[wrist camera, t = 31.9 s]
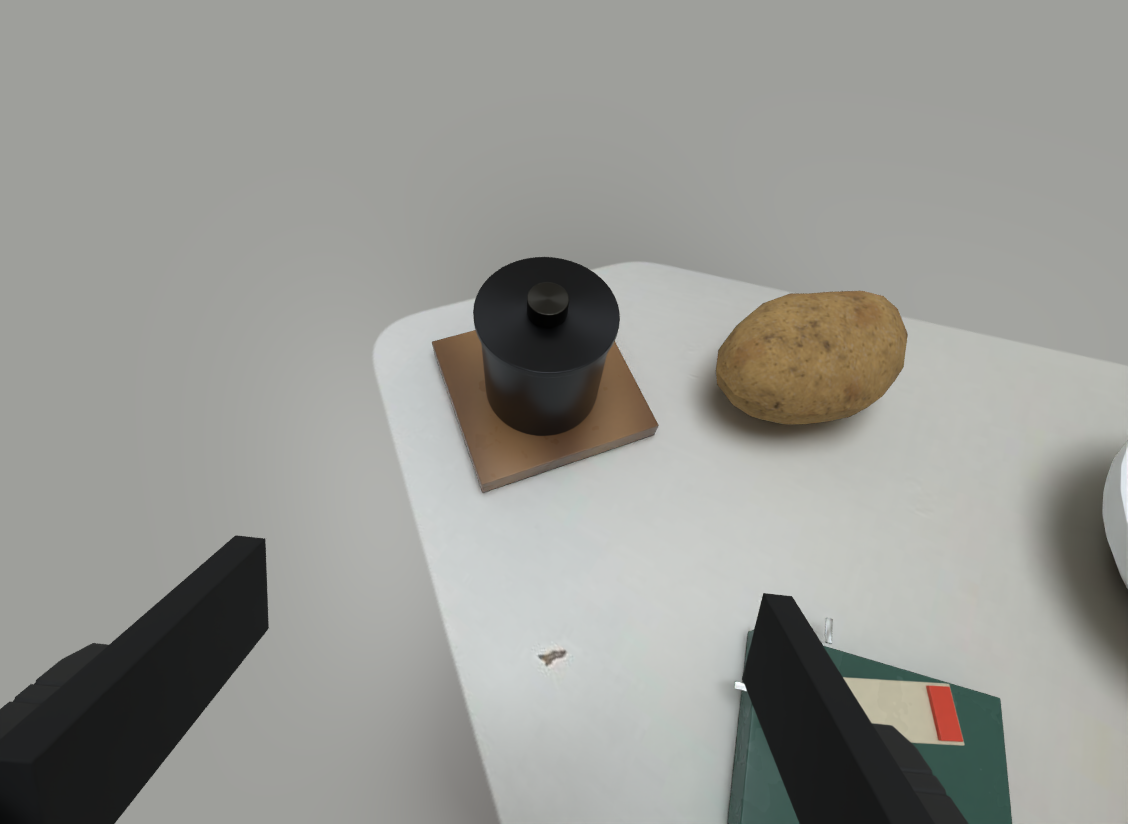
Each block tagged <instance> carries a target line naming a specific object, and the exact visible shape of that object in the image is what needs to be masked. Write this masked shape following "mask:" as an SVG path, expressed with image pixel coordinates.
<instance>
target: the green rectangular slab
mask: <svg viewBox="0 0 1128 824" xmlns="http://www.w3.org/2000/svg"><path fill="white" fill-rule="evenodd" d="M832 623H833V619H830V618H826V621H825V642H826V643H829V644H832ZM753 633H754V630H752V631H749V632H748V638H747V647H746V657H745V665H746V661H747V657H748V653H749V649H750V645H751V641H752V637H753ZM824 648H825V650H826V651H827V653H828V654H829V656H830V658H831V659H832V661H833V662H834V664H835V666H836V667H837V669H838V670H839V672H840V673H841V675H842V677H846V678H863V679H880V680H896V681H913V682H930V683H946V684H949V685H950V689H951V693H952V697H953V701H954V705H955V709H956V713H957V717H958V721H959V725H960V729H961V733H962V737H963V741H964V746H959V745H941V744H923V743H912V744H913V745H914V746H915V747H916V748H917V749H918V751H919V752H920V754H921V755H922V757H923V758H924V760H925V761H926V762H927V764H928V765H929V767H930V768H931V770H932V774H933V776H936V777H937V778H938V780H939V781H940V783H941V784H942V786H943V787H944V789H945V790H946V795H947V796H950V797H951V799H952V800H953V802H954V803H955V805H956V806H957V808H958V809H959V810H960V812H961V813H962V815H963V816H964V818H965V819H966V821H967V822H968V824H1012V817H1011V806H1010V796H1009V785H1008V775H1007V764H1006V753H1005V743H1004V732H1003V722H1002V711H1001V701H1000V698H998V697H995V696H991V695H988V694H984V693H981V692H978V691H974V690H971V689H968V688H964V687H961V686H957V685H954V684H951V683H947V682H944V681H940V680H937V679H934V678H930V677H927V676H924V675H920V674H917V673H913V672H910V671H907V670H903V669H900V668H897V667H893V666H890V665H886V664H883V663H880V662H876V661H873V660H870V659H866V658H863V657H859V656H856V655H853V654H849V653H846V652H843V651H839V650H836V649H832V648H829V647H826V646H824ZM744 669H745V666H744ZM734 688H736V689H739V690H742V694H741V703H740V712H739V722H738V731H737V740H736V750H735V759H734V768H733V778H732V787H731V796H730V806H729V815H728V824H799V821H798V819H797V816H796V814H795V811H794V809H793V806H792V804H791V801H790V799H789V796H788V794H787V791H786V788H785V786H784V783H783V781H782V778H781V776H780V773H779V771H778V768H777V766H776V763H775V761H774V758H773V756H772V753H771V750H770V748H769V745H768V743H767V740H766V738H765V735H764V733H763V730H762V728H761V725H760V723H759V720H758V718H757V715H756V712H755V710H754V707H753V705H752V702H751V700H750V697H749V695H748V692H747V690H746V687H745V685H744V682H743V683H740V682H737V681H735V683H734Z"/></svg>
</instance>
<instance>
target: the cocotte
mask: <svg viewBox="0 0 1128 824" xmlns="http://www.w3.org/2000/svg"><path fill="white" fill-rule="evenodd" d="M473 315H474V325H475V330H476V333H477V335H478V338H479V340H480V342H481V345H482V355H483V365H484V375H485V386H486V394H487V399H488V401H489V404H490V406H491V408H492V410H493V411H494V413H495V414H496V415H497V416H498V417H499V418H500V419H501V420H502V421H503V422H504V423H505V424H507V425H508V426H510V427H511V428H513V429H515V430H517V431H520V432H522V433H526V434H530V435H536V436H550V435H556V434H560V433H563V432H566V431H568V430H570V429H572V428H574V427H576V426H577V425H579V424H580V423H581V422H582V421H583V420H584V419H585V418H586V417H587V416H588V415H589V413H590V412H591V410H592V408H593V406H594V404H595V401H596V398H597V393H598V389H599V385H600V381H601V377H602V373H603V369H604V365H605V360H606V356H607V353H608V351H609V350H610V348H611V347H612V345H613V343H614V341H615V339H616V336H617V332H618V329H619V321H620V316H619V308H618V304H617V301H616V299H615V296H614V295H613V293H612V291H611V289H610V288H609V287H608V285H607V284H606V283H605V282H604V281H603V280H602V279H601V278H600V277H599V276H598V275H596V274H595V273H594V272H592V271H591V270H589V269H588V268H586V267H584V266H582V265H580V264H577V263H574V262H572V261H568V260H564V259H559V258H552V257H535V258H528V259H523V260H519V261H516V262H513V263H510V264H508V265H507V266H504V267H502V268H501V269H499V270H498V271H496V272H495V273H494V274H493V275H491V276H490V277H489V278H488V279H487V280H486V281H485V283H484V284H483V285H482V287H481V288H480V290H479V293H478V295H477V296H476V300H475V303H474V310H473Z"/></svg>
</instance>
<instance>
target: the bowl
mask: <svg viewBox="0 0 1128 824" xmlns="http://www.w3.org/2000/svg"><path fill="white" fill-rule="evenodd" d="M1102 514H1103V520H1104V525H1105V531H1106V537H1107V540H1108V543H1109V545H1110V548H1111V551H1112V553H1113V556H1114V559H1115V561H1116V565H1117V567H1118V570H1119V573H1120V576H1121V578H1122V580H1123V582H1124V583H1125V585H1126V587H1127V589H1128V441H1127V442H1126V443H1125V444H1124V446H1123V447H1122V448H1121V450H1120V451H1119V452H1118V453H1117V455H1116V456H1115V457H1114V459H1113V461H1112V464H1111V467H1110V470H1109V473H1108V475H1107V478H1106V483H1105V487H1104V492H1103V510H1102Z"/></svg>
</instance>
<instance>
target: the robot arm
mask: <svg viewBox="0 0 1128 824" xmlns="http://www.w3.org/2000/svg"><path fill="white" fill-rule="evenodd" d="M268 628H269V627H268V600H267V573H266V547H265V539H263V538H253V537H245V536H234V537H233V538H232V539H231V540H230V541H229V542H227V543H226V544H225V545H224V546H223V547H222V548H221V549H219V550H218V551H217V552H216V553H215V554H214V555H212V556H211V557H210V558H209V559H208V560H207V561H206V562H204V563H203V564H202V565H201V566H200V567H199V568H197V569H196V570H195V571H194V572H193V573H192V574H190V575H189V576H188V577H187V578H186V579H185V580H184V581H182V582H181V583H180V584H179V585H178V586H177V587H176V588H174V589H173V590H172V591H171V592H170V593H169V594H167V595H166V596H165V597H164V598H163V599H162V600H160V601H159V602H158V603H157V604H156V605H155V606H154V607H152V608H151V609H150V610H149V611H148V612H147V613H145V614H144V615H143V616H142V617H141V618H140V619H139V620H137V621H136V622H135V623H134V624H133V625H132V626H130V627H129V628H128V629H127V630H126V631H125V632H123V633H122V634H121V635H120V636H119V637H118V638H117V639H116V640H114V641H113V642H112V643H111V644H110V645H106V644H96V643H92V644H90V645H89V646H87V647H85V648H83V649H81V650H79V651H77V652H75V653H73V654H71V655H69V656H67V657H66V658H64V659H62V660H61V661H59V662H58V663H57V664H56V665H54V666H53V667H52V668H50V669H49V670H48V671H47V672H46V673H44V674H43V675H42V676H41V677H39V678H38V679H37V680H36V683H35V684H34V685H33V684H31V685H29V686H28V687H27V688H26V689H25V690H23V691H22V692H21V693H20V694H18V695H17V696H16V697H15V699H14V701H13V702H9V703H7V704H6V705H5V706H4V707H2V708H1V709H0V824H114V823H115V822H116V821H117V820H118V818H119V817H120V816H121V815H122V813H123V812H124V811H125V810H126V808H127V807H128V806H129V805H130V803H131V802H132V801H133V799H134V798H135V797H136V796H137V794H138V793H139V792H140V790H141V789H142V788H143V787H144V786H145V784H146V783H147V782H148V780H149V779H150V778H151V777H152V775H153V774H154V773H155V772H156V770H157V769H158V768H159V766H160V765H161V764H162V762H163V761H164V760H165V759H166V758H167V756H168V755H169V754H170V753H171V751H172V750H173V749H174V748H175V746H176V745H177V744H178V742H179V741H180V740H181V739H182V737H183V736H184V735H185V734H186V732H187V731H188V730H189V728H190V727H191V726H192V725H193V723H194V722H195V721H196V720H197V718H198V717H199V716H200V715H201V713H202V712H203V711H204V709H205V708H206V707H207V706H208V704H209V703H210V701H212V699H213V698H214V697H215V696H216V694H217V693H218V692H219V691H220V689H221V688H222V687H223V685H224V684H225V683H226V682H227V680H228V679H229V678H230V677H231V675H232V674H233V673H234V671H235V670H236V669H237V668H238V666H239V665H240V664H241V663H242V661H243V660H244V659H245V658H246V656H247V655H248V654H249V652H250V651H251V650H252V649H253V647H254V646H255V645H256V643H257V642H258V641H259V640H260V639H261V637H262V636H263V635H264V634H265V632H266V631H267V630H268ZM742 680H743V682H744V685H745V687H746V690H747V692H748V695H749V697H750V700H751V702H752V705H753V707H754V710H755V712H756V715H757V718H758V720H759V723H760V725H761V728H762V730H763V733H764V735H765V738H766V740H767V743H768V745H769V748H770V750H771V753H772V756H773V758H774V761H775V763H776V766H777V768H778V771H779V773H780V776H781V778H782V781H783V783H784V786H785V788H786V791H787V794H788V796H789V799H790V801H791V804H792V806H793V809H794V811H795V814H796V816H797V819H798V821H799V824H968V822H967V821H966V819H965V818H964V816H963V815H962V813H961V812H960V810H959V809H958V808H957V806H956V805H955V803H954V802H953V800H952V799H951V797H950V796H947V795H946V790H945V789H944V787H943V786H942V784H941V783H940V781H939V780H938V778H937V777H936V776H933V774H932V770H931V768H930V767H929V765H928V764H927V762H926V761H925V760H924V758H923V757H922V755H921V754H920V752H919V751H918V749H917V748H916V747H915V746H914V745H913V744H912V743H911V742H910V741H909V740H908V739H907V738H905V737H904V736H903V735H902V734H901V733H900V732H899V731H898V730H897V729H896V728H895V727H893V726H892V725H884V724H875V723H871V721H870V720H869V718H868V716H867V715H866V713H865V712H864V710H863V708H862V707H861V705H860V704H859V702H858V701H857V699H856V697H855V696H854V694H853V693H852V691H851V689H850V688H849V686H848V685H847V683H846V681H845V680H844V678H843V677H842V675H841V673H840V672H839V670H838V669H837V667H836V666H835V664H834V662H833V661H832V659H831V658H830V656H829V654H828V653H827V651H826V650H825V648H824V646H823V645H822V643H821V642H820V640H819V639H818V637H817V635H816V634H815V632H814V631H813V629H812V627H811V626H810V624H809V623H808V621H807V619H806V618H805V616H804V615H803V613H802V612H801V610H800V608H799V607H798V605H797V604H796V602H795V600H794V599H793V597H792V596H784V595H775V594H765V593H763V597H762V601H761V605H760V609H759V613H758V617H757V621H756V625H755V629H754V633H753V637H752V641H751V645H750V649H749V653H748V657H747V661H746V665H745V669H744V673H743V677H742Z"/></svg>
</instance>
